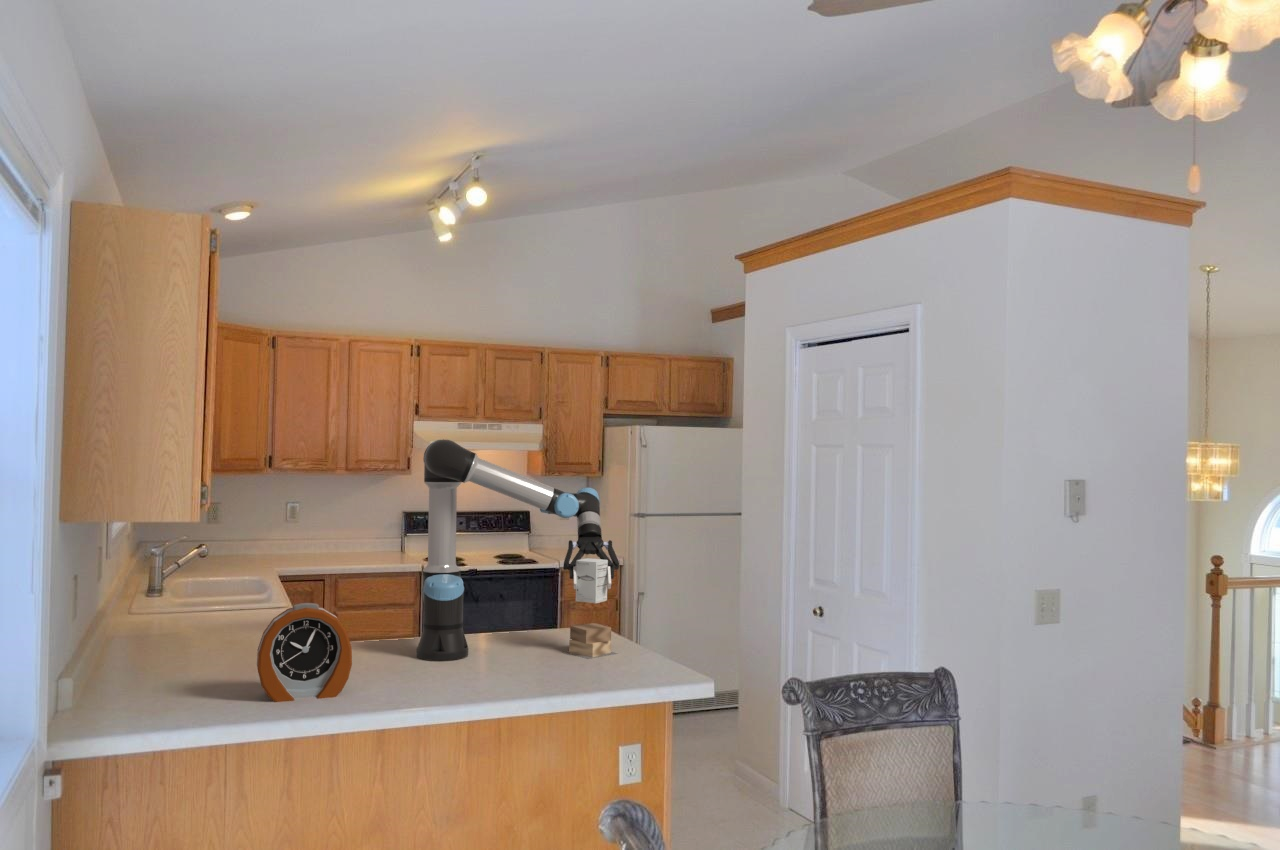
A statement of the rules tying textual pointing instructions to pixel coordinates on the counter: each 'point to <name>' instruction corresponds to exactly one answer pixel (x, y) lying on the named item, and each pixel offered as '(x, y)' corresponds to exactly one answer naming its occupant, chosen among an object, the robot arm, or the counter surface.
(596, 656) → the slate mat
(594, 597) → the supplement box
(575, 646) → the bottom block
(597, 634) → the top block
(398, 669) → the counter surface
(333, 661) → the alarm clock
